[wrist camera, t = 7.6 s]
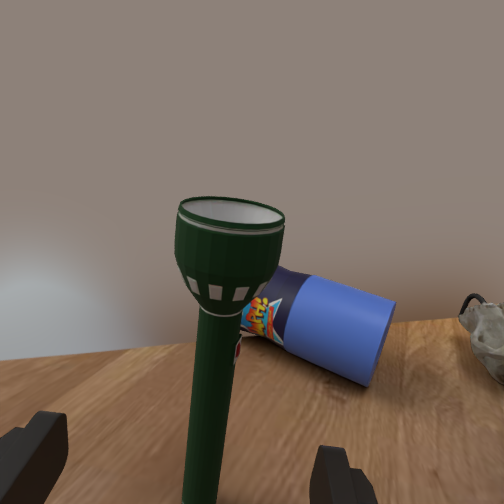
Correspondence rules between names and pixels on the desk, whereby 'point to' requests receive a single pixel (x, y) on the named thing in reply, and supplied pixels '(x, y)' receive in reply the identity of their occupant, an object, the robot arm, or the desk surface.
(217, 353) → the flashlight
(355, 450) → the desk surface
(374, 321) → the water bottle
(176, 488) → the desk surface
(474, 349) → the skull
